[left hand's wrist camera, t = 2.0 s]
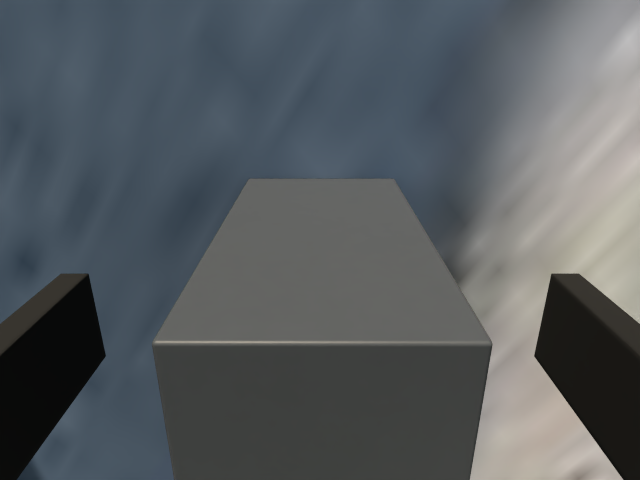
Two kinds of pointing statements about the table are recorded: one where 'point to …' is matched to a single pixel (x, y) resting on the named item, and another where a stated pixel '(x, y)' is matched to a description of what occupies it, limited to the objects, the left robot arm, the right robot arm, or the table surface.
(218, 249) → the bar
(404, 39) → the table surface
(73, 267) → the table surface
